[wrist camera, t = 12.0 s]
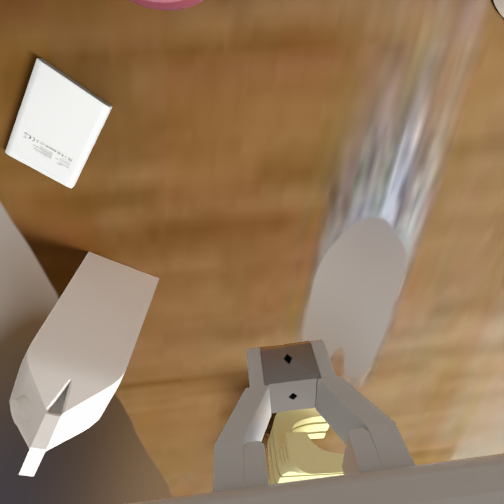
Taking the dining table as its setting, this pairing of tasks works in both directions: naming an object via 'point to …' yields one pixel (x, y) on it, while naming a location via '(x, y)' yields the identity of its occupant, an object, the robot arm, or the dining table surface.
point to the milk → (79, 354)
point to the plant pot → (167, 4)
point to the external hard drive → (56, 124)
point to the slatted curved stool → (300, 448)
